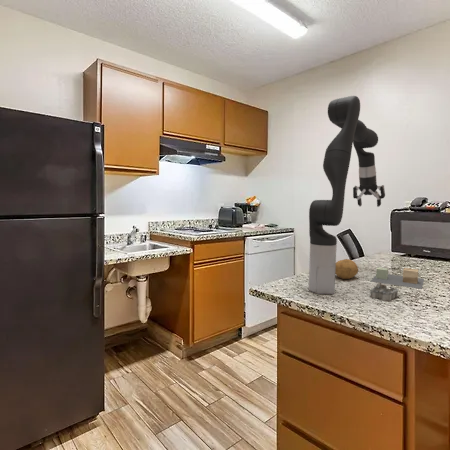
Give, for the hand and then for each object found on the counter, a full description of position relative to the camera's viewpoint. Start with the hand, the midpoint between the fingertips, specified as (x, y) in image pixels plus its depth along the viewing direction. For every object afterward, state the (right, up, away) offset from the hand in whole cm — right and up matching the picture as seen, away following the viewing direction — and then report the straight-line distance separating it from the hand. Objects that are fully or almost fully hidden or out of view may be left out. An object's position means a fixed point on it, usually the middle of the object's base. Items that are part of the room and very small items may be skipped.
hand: (369, 206), depth 154 cm
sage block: (-5, -32, -22) cm, 39 cm away
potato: (-21, -33, -22) cm, 45 cm away
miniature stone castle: (-17, -35, -47) cm, 61 cm away
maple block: (+4, -33, -28) cm, 43 cm away
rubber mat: (0, -33, -25) cm, 42 cm away
